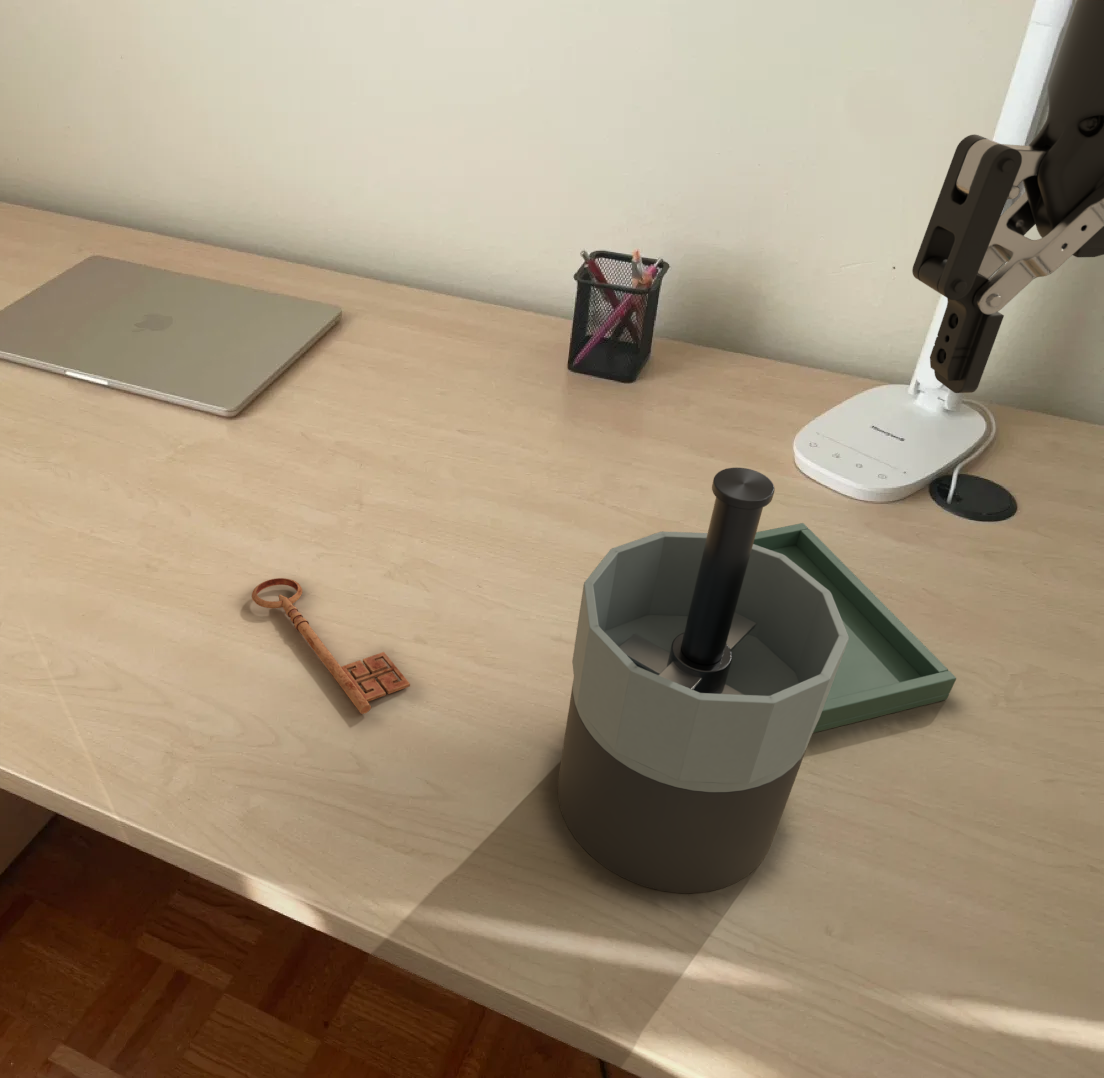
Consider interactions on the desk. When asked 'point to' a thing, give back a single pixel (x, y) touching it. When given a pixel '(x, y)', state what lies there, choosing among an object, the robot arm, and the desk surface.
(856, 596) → the tray
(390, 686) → the key
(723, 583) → the blade
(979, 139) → the robot arm
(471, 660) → the desk surface
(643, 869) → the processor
